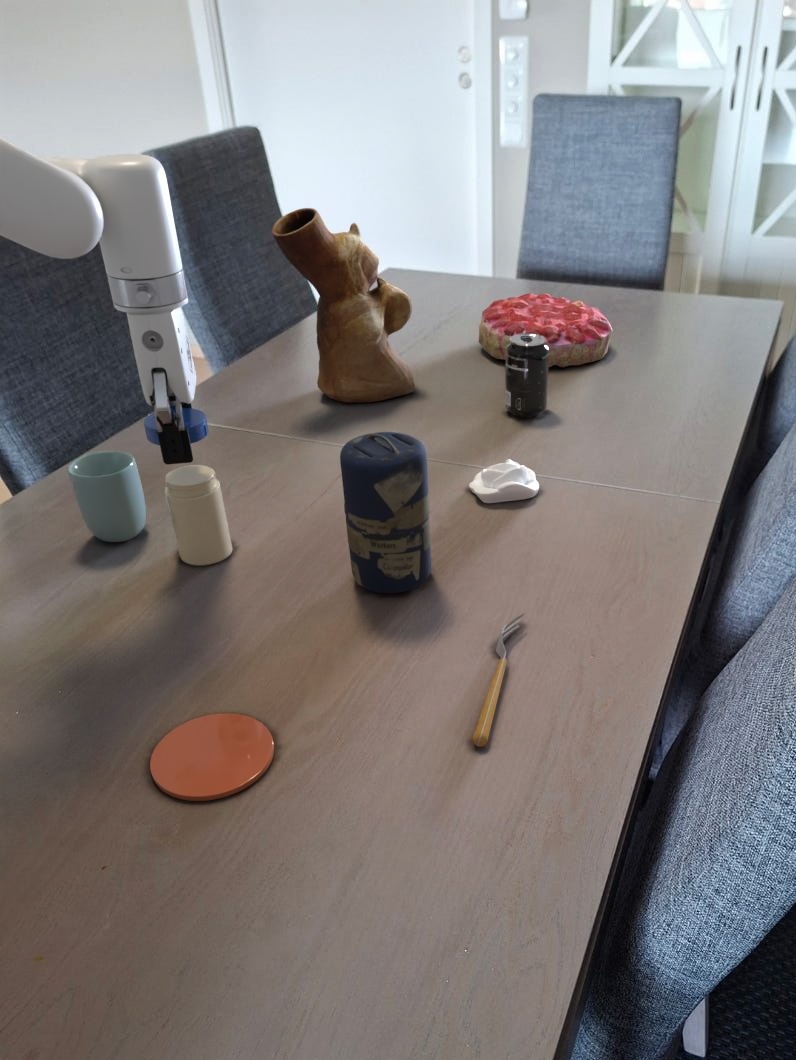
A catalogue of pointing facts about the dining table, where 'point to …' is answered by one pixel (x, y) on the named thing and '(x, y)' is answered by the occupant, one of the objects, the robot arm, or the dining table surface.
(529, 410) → the beverage can
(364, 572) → the canister
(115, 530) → the cup
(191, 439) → the jam lid
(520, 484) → the rose
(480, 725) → the fork
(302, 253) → the ceramic vessel
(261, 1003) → the dining table surface
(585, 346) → the cake
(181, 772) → the coaster
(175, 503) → the jam jar
